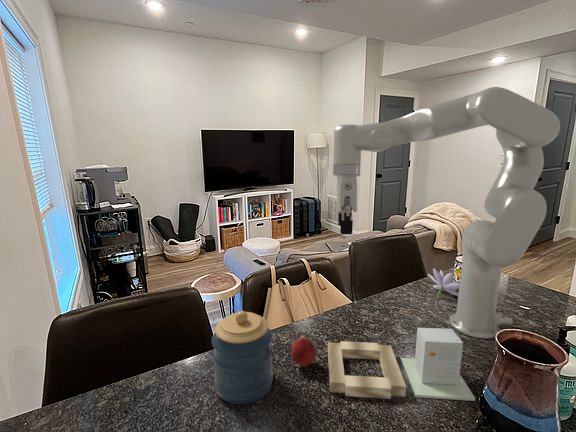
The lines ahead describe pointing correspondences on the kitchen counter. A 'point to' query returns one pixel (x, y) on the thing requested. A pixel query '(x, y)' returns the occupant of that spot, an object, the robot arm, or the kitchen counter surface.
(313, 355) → the red round piece
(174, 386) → the kitchen counter surface
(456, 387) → the pad
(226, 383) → the canister
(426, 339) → the small box
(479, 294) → the robot arm
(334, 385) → the wooden square frame
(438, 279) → the water lily
